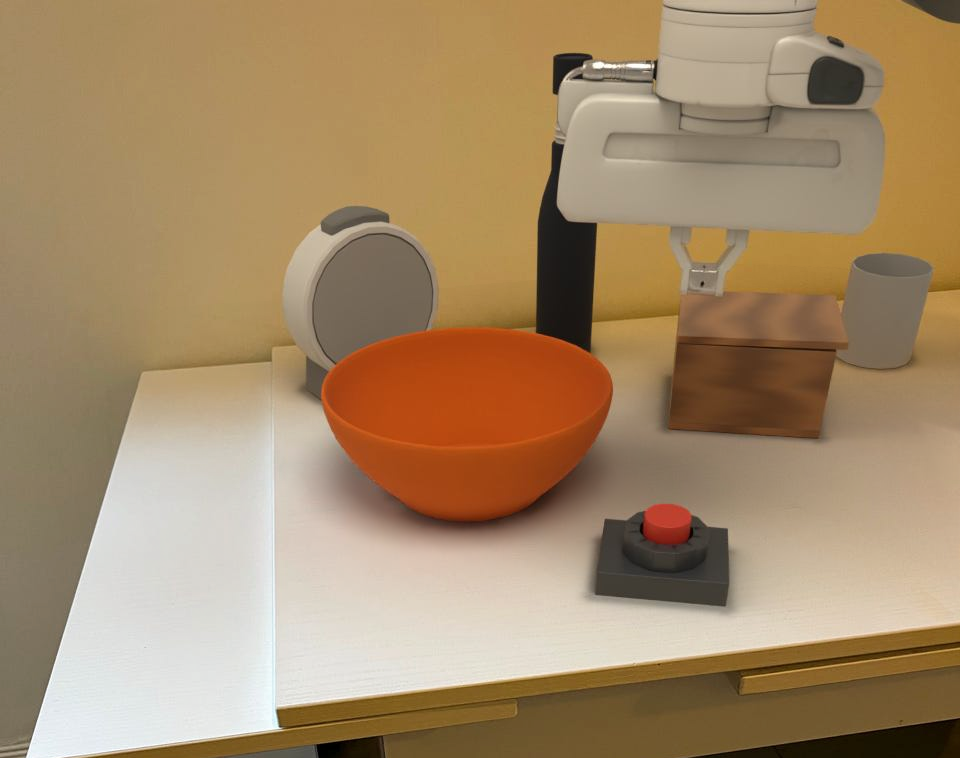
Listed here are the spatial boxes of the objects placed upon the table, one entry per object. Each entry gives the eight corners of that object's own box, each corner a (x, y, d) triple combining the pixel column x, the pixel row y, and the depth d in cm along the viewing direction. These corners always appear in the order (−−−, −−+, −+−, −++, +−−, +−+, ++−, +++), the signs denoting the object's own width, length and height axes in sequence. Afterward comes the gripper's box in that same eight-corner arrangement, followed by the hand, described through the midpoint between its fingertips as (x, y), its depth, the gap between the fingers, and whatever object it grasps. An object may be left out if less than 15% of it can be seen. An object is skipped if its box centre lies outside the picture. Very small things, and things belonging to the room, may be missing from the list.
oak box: (808, 385, 107) (824, 304, 102) (818, 438, 97) (836, 352, 92) (671, 377, 109) (680, 298, 104) (668, 428, 100) (677, 344, 94)
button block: (724, 550, 82) (731, 508, 80) (725, 607, 76) (732, 563, 73) (603, 540, 84) (606, 499, 81) (594, 595, 77) (597, 552, 75)
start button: (689, 524, 79) (692, 504, 78) (688, 548, 76) (691, 529, 75) (643, 520, 79) (645, 501, 78) (641, 544, 76) (643, 525, 75)
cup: (899, 374, 109) (923, 282, 103) (824, 360, 112) (843, 270, 106) (917, 348, 114) (940, 259, 108) (845, 335, 118) (864, 248, 112)
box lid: (834, 302, 101) (835, 294, 101) (847, 350, 92) (849, 341, 91) (680, 297, 104) (681, 289, 103) (677, 343, 94) (678, 335, 94)
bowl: (305, 449, 98) (291, 351, 91) (539, 405, 104) (541, 311, 98) (377, 584, 79) (366, 473, 73) (656, 521, 86) (667, 414, 80)
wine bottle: (524, 352, 116) (526, 56, 97) (560, 336, 119) (569, 48, 101) (565, 367, 112) (576, 63, 93) (601, 350, 116) (619, 54, 97)
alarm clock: (407, 352, 116) (396, 185, 105) (456, 380, 110) (450, 206, 98) (282, 387, 109) (257, 212, 98) (327, 420, 102) (305, 237, 91)
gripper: (552, 66, 59) (544, 299, 67) (914, 75, 56) (857, 318, 64) (565, 50, 64) (556, 269, 72) (898, 58, 61) (847, 285, 69)
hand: (700, 293), depth 68 cm, fingers closed
